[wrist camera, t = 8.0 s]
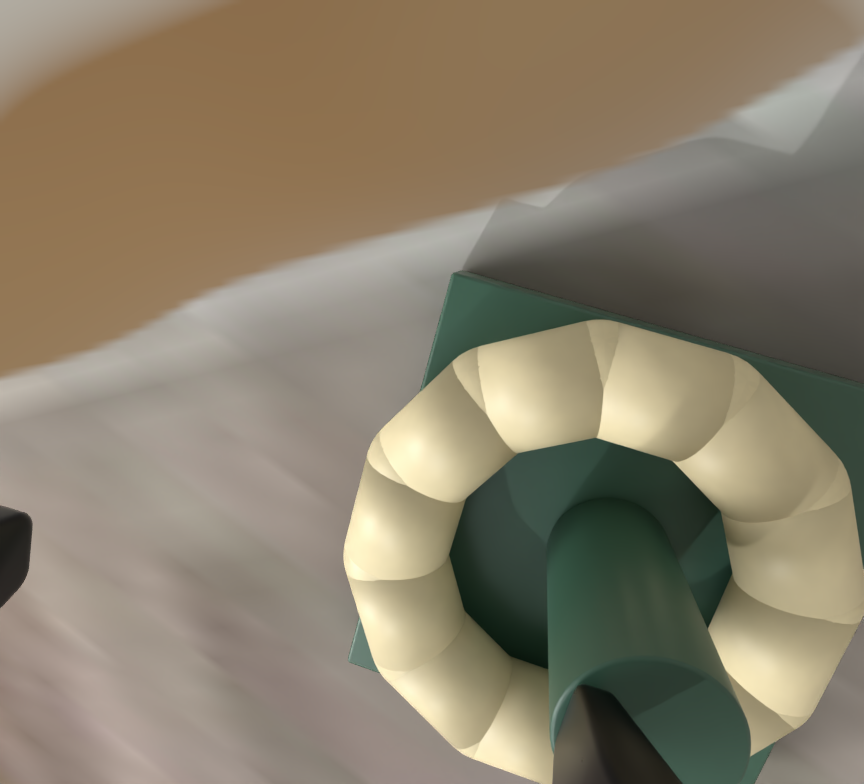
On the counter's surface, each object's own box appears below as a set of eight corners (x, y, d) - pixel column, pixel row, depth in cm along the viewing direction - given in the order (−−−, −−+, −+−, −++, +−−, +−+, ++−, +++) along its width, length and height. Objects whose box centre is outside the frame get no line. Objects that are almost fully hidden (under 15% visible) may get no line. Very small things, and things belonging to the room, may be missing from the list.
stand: (729, 759, 14) (861, 1119, 8) (361, 631, 15) (246, 876, 9) (907, 396, 12) (1261, 541, 6) (459, 269, 13) (390, 288, 7)
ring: (722, 795, 13) (753, 887, 11) (325, 654, 14) (291, 719, 12) (915, 401, 11) (996, 435, 9) (426, 263, 12) (404, 266, 10)
